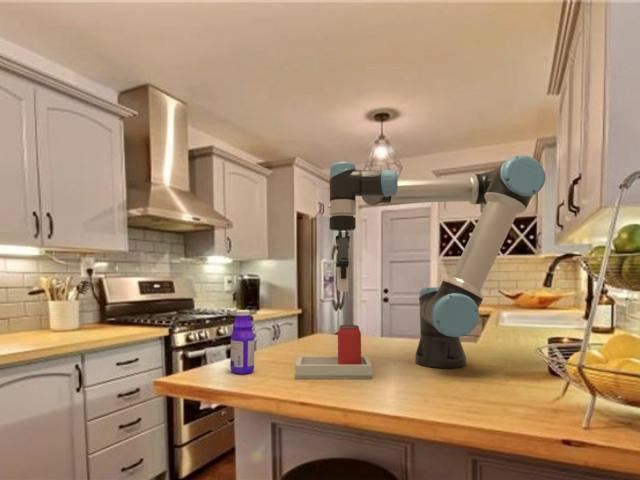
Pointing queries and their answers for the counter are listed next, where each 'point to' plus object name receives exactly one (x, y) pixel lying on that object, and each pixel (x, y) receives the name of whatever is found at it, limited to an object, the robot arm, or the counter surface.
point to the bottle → (242, 344)
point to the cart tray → (331, 368)
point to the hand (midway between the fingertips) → (342, 290)
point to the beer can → (349, 345)
